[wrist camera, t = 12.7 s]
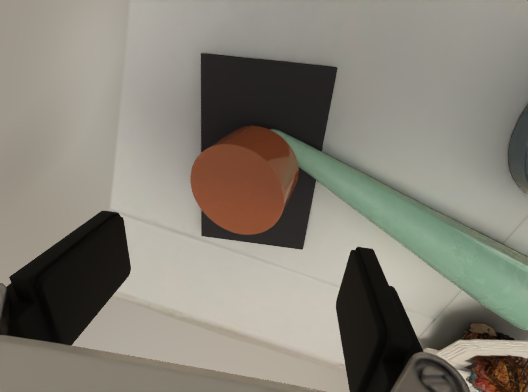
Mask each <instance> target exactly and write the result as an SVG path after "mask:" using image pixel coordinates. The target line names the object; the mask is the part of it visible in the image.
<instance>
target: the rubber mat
mask: <svg viewBox="0 0 528 392" xmlns="http://www.w3.org/2000/svg"><path fill="white" fill-rule="evenodd" d="M336 72H337V67H331V66H321V65H312V64H302V63H292V62H283V61H273V60H263V59H254V58H244V57H234V56H225V55H215V54H206V53H201V153H202V152H203V151H205V150H206V149H207V148H209V147H210V146H212V145H213V144H215V143H216V142H218V141H219V140H221V139H222V138H224V137H225V136H227V135H228V134H230V133H231V132H233V131H235V130H237V129H239V128H242V127H246V126H259V127H263V128H267V129H269V130H271V129H275V130H279V131H281V132H283V133H285V134H287V135H289V136H291V137H293V138H295V139H297V140H299V141H301V142H303V143H305V144H307V145H309V146H311V147H313V148H315V149H317V150H319V151H322V146H323V141H324V135H325V130H326V125H327V120H328V114H329V109H330V104H331V99H332V93H333V88H334V83H335V78H336ZM315 183H316V179H314V178H313V177H312V176H310V175H309V174H308V173H306V172H305V171H304V170H302V169H301V168H300V167H299V177H298V182H297V185H296V187H295V189H294V191H293V193H292V195H291V197H290V199H289V201H288V203H287V205H286V207H285V209H284V211H283V213H282V215H281V217H280V218H279V220H278V221H277V222H276V224H275V225H274V226H272V227H271V228H270V229H268V230H266V231H264V232H262V233H258V234H251V235H245V234H238V233H234V232H231V231H228V230H226V229H224V228H222V227H220V226H219V225H217V224H216V223H214V222H213V221H212V220H211V219H210V218H208V216H207V215H206V214H205V213H204V212H203V211H202V236H206V237H214V238H221V239H229V240H236V241H243V242H251V243H258V244H266V245H273V246H280V247H288V248H295V249H303V246H304V240H305V235H306V230H307V225H308V219H309V214H310V209H311V204H312V198H313V193H314V188H315Z"/></svg>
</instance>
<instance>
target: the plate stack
mask: <svg viewBox="0 0 528 392" xmlns="http://www.w3.org/2000/svg"><path fill="white" fill-rule="evenodd" d="M509 166H510V171H511V173H512V176H513V178H514V180H515V182H516V183H517V185H518V186H519V187H520V188H521V189H522V190H523V191H524V192H525V193H526V194H528V106H527V107H526V109H525V110H524V112H523V113H522V115H521V117H520V119H519V120H518V122H517V124H516V127H515V129H514V132H513V134H512V138H511V141H510V146H509Z"/></svg>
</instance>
